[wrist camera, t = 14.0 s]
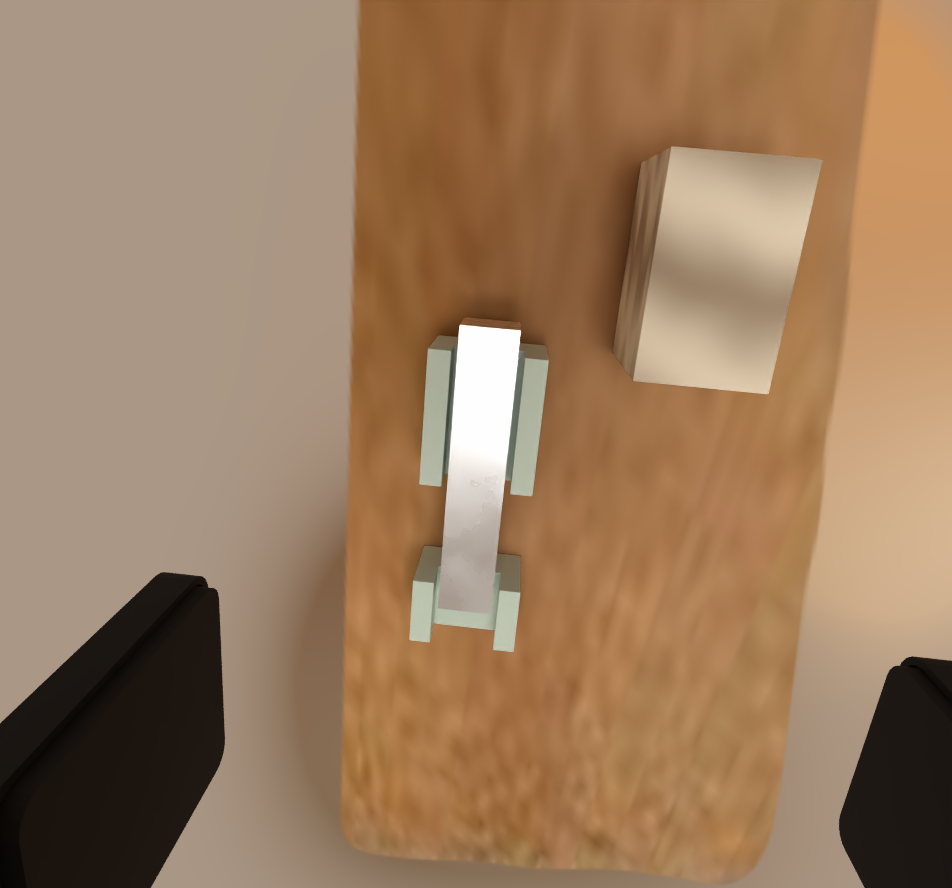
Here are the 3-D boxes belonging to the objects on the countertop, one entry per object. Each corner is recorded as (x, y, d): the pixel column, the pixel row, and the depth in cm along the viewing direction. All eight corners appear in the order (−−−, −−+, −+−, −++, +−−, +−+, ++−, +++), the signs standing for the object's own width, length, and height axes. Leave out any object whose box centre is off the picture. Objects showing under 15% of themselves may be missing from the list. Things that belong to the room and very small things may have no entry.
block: (641, 162, 35) (671, 146, 28) (761, 173, 34) (822, 159, 27) (612, 352, 38) (632, 380, 31) (722, 362, 38) (768, 394, 30)
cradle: (438, 335, 38) (427, 348, 34) (546, 345, 38) (548, 360, 34) (420, 599, 44) (409, 639, 39) (514, 610, 43) (513, 652, 39)
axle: (464, 317, 35) (459, 324, 32) (520, 322, 35) (520, 330, 32) (443, 581, 40) (437, 608, 38) (492, 586, 40) (490, 614, 37)
